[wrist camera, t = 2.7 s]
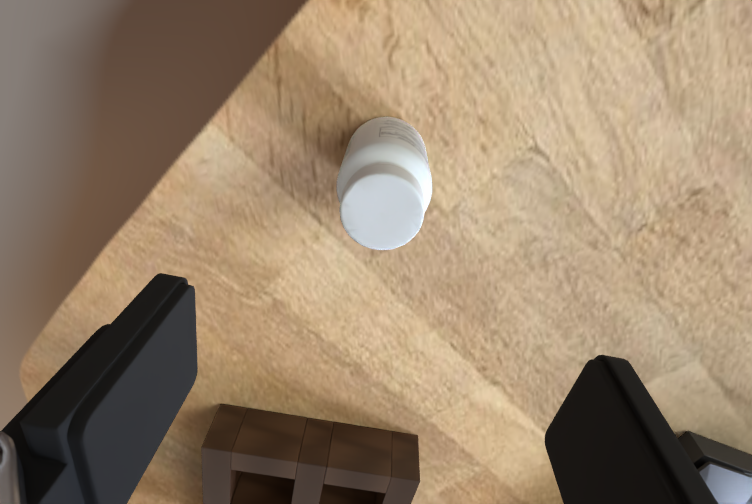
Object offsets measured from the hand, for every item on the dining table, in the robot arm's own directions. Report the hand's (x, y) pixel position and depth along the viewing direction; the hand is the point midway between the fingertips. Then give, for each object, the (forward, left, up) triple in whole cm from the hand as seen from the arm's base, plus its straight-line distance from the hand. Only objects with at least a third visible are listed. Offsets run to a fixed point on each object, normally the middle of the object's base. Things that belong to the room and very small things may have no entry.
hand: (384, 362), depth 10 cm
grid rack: (-1, -31, -16) cm, 35 cm away
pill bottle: (0, 0, -16) cm, 16 cm away
